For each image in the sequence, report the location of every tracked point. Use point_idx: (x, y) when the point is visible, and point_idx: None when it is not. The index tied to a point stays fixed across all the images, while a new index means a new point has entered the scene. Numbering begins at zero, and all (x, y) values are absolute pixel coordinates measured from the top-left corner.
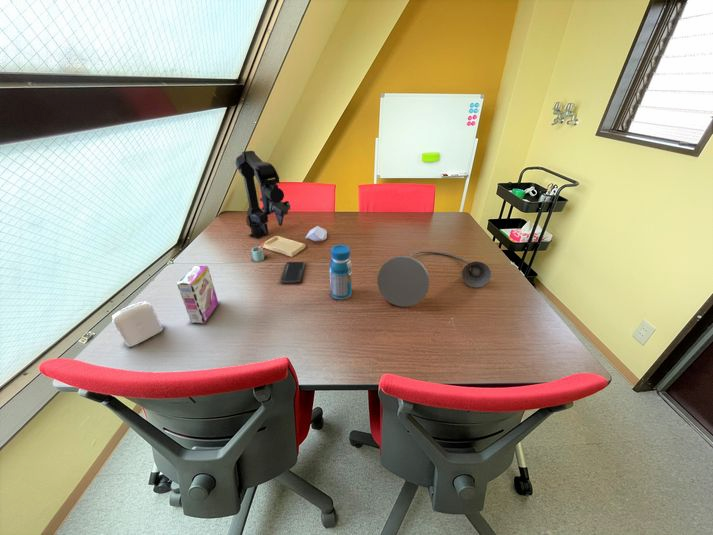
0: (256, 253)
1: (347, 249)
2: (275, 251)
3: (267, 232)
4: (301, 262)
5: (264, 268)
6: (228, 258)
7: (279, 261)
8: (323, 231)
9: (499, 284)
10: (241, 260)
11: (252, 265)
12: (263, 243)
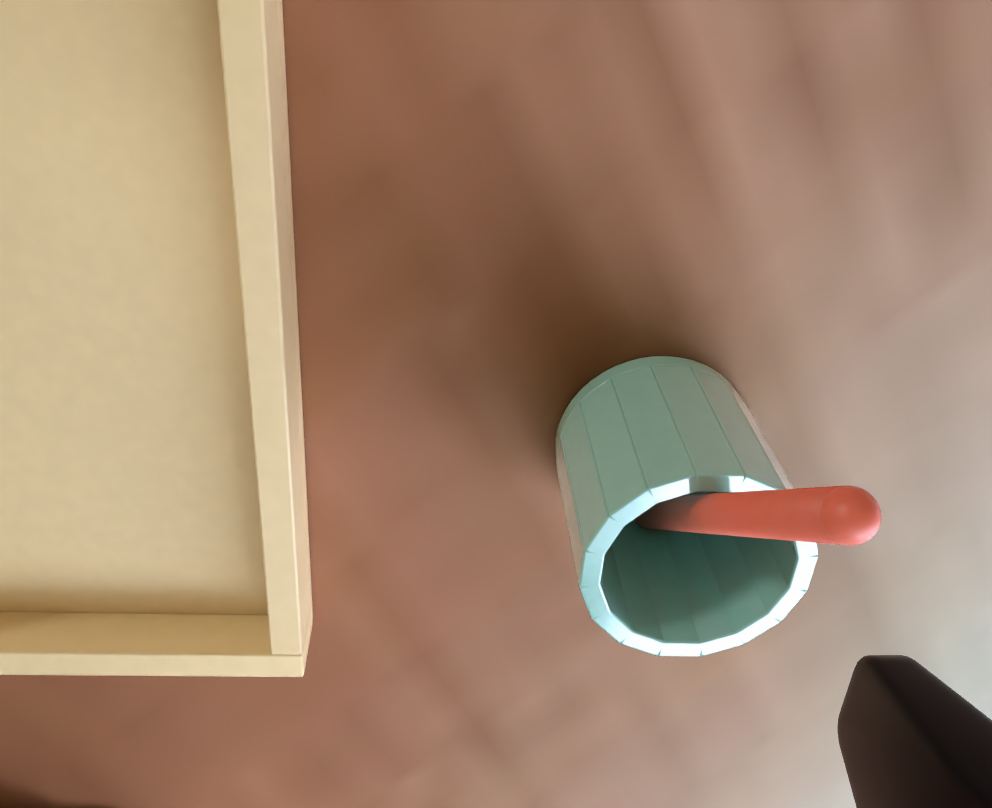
0: None
1: None
2: (298, 352)
3: (943, 700)
4: None
5: (945, 120)
6: (803, 759)
7: (592, 9)
8: None
9: None
10: (799, 609)
11: (895, 383)
12: (867, 497)
